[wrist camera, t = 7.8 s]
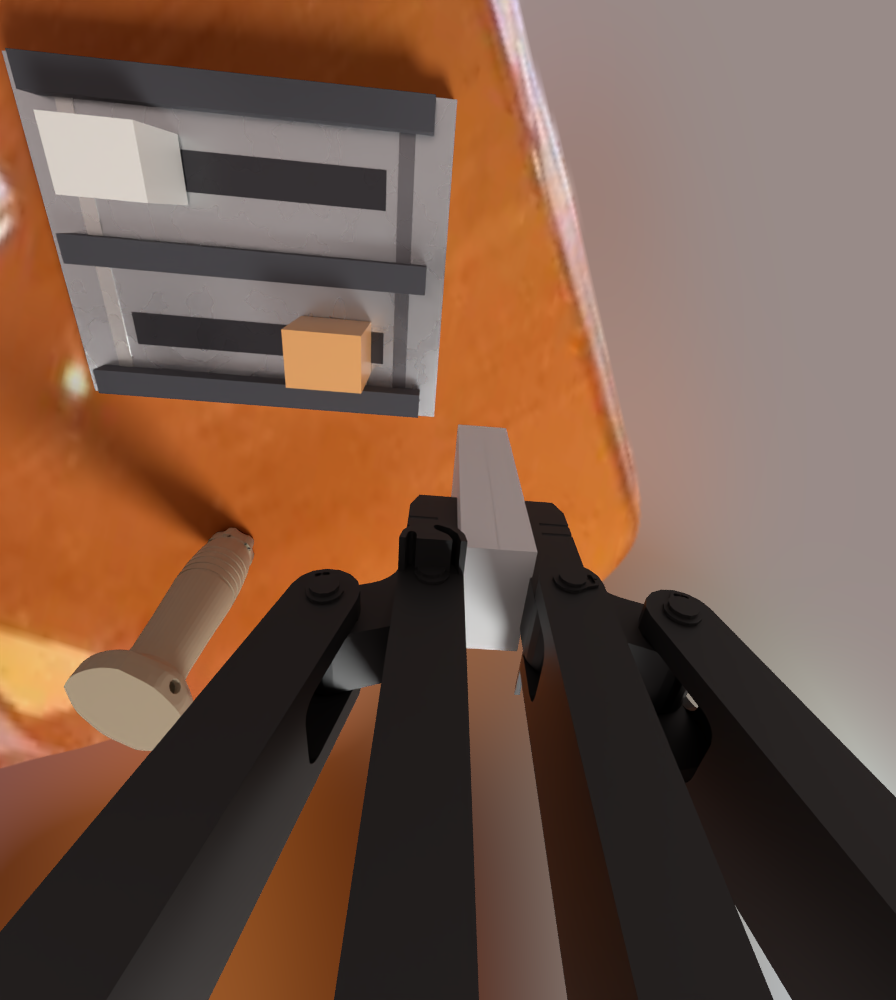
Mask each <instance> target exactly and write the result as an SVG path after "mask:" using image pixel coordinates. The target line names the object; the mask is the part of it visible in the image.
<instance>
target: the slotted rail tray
mask: <svg viewBox="0 0 896 1000" xmlns="http://www.w3.org/2000/svg"><path fill="white" fill-rule="evenodd" d="M5 50H6V53H7V57H8V61H9V64H10V68H11V72H12V75H13V79H14V83H15V86H16V89H19V90H22V91H25V92H29V93H32V94H35V95H45V96H56V97H66V98H74V99H83V100H93V101H102V102H112V103H122V104H131V105H141V106H150V107H160V108H170V109H179V110H189V111H198V112H208V113H218V114H227V115H237V116H246V117H256V118H266V119H275V120H285V121H294V122H304V123H314V124H323V125H333V126H342V127H352V128H361V129H371V130H381V131H390V132H402V133H411V134H419V135H429V136H434V129H435V112H436V95H435V94H425V93H416V92H407V91H398V90H388V89H379V88H370V87H361V86H351V85H342V84H333V83H324V82H315V81H305V80H296V79H287V78H278V77H268V76H259V75H250V74H241V73H231V72H222V71H213V70H204V69H194V68H185V67H176V66H167V65H157V64H148V63H139V62H130V61H120V60H111V59H102V58H93V57H83V56H74V55H65V54H56V53H46V52H37V51H28V50H19V49H9V48H5ZM56 237H57V241H58V244H59V248H60V252H61V255H62V259H63V263H64V264H75V265H86V266H97V267H109V268H120V269H131V270H142V271H154V272H165V273H176V274H187V275H199V276H210V277H221V278H232V279H244V280H255V281H266V282H277V283H289V284H300V285H311V286H322V287H334V288H345V289H356V290H367V291H379V292H390V293H401V294H412V295H424V296H425V289H426V271H427V265H416V264H404V263H394V262H384V261H373V260H362V259H351V258H340V257H329V256H318V255H307V254H296V253H285V252H275V251H264V250H253V249H242V248H231V247H220V246H209V245H198V244H187V243H176V242H166V241H155V240H144V239H133V238H122V237H111V236H99V235H88V234H78V233H56ZM93 373H94V376H95V380H96V384H97V388H98V391H99V393H105V394H118V395H131V396H144V397H157V398H170V399H183V400H196V401H208V402H221V403H234V404H247V405H260V406H273V407H286V408H299V409H312V410H325V411H338V412H351V413H364V414H377V415H390V416H403V417H416V418H418V412H419V395H420V389H407V388H405V389H403V388H392V387H382V386H369V385H365V387H364V389H363V391H362V393H361V394H360V393H347V392H334V391H322V390H309V389H296V388H286V383H285V379H282V378H269V377H257V376H244V375H232V374H219V373H207V372H194V371H182V370H169V369H157V368H144V367H127V366H119V365H107V364H105V365H102V366H100V367H98V368H95V369H93Z"/></svg>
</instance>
